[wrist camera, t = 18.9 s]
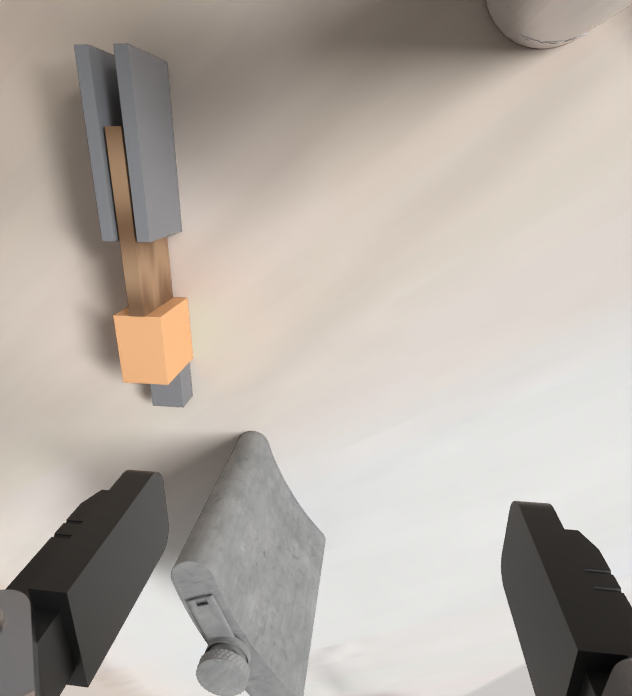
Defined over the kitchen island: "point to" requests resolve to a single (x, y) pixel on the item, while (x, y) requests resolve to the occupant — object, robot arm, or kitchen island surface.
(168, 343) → the orange block
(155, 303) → the gate
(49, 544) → the robot arm
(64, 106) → the kitchen island surface
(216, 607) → the hip flask
